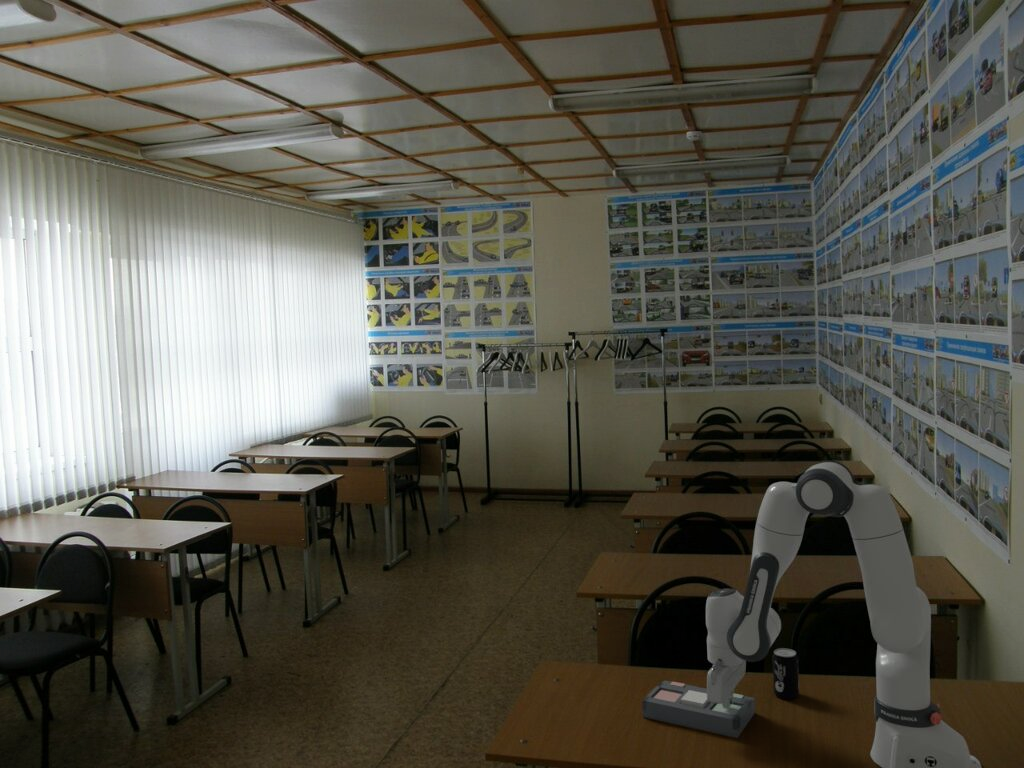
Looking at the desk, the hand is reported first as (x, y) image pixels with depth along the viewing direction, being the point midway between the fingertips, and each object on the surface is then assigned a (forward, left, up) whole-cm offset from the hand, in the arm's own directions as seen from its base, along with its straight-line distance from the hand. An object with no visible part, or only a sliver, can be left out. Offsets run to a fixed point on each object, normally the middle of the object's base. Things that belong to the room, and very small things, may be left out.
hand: (727, 706), depth 209 cm
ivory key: (+8, 0, -1) cm, 8 cm away
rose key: (+16, 0, -3) cm, 17 cm away
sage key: (0, 0, -3) cm, 3 cm away
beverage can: (-9, -23, -5) cm, 25 cm away
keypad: (+8, -2, -5) cm, 10 cm away
